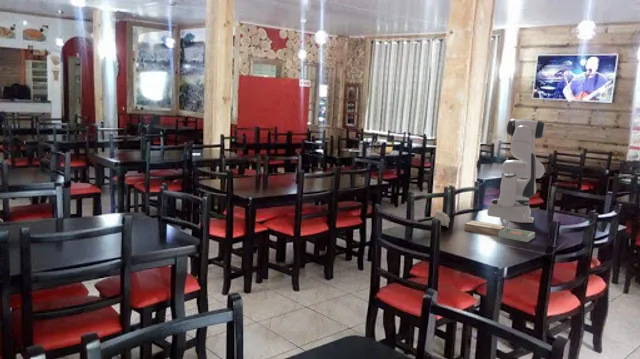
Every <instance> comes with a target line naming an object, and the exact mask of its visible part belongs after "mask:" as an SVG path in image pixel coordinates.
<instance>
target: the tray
mask: <svg viewBox="0 0 640 359" xmlns="http://www.w3.org/2000/svg"><path fill="white" fill-rule="evenodd" d="M511 231H515V232H521V233H523V236H522V235H517V234H511V233H509V232H511ZM497 237H498V238H502V239H508V240H513V241H520V242H523V243H524V242H525V243H528V242H530V241H531V240H533V239H535V237H536V232H535V231H529V230H523V229H517V228H512V227H506V228H505V229H503V230H501V231H499V232H498V236H497Z"/></svg>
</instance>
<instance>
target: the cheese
mask: <svg viewBox="0 0 640 359" xmlns="http://www.w3.org/2000/svg"><path fill="white" fill-rule="evenodd" d="M435 219H439V220H441V225H442V226H441V227H443V226H444V227H445V228H449V223H450V222H451V221H450V220H451V219H450V217H449V215H448V214H446V213H445V212H443V211H442V210H440V209H438V210H436V211H435V213H434V220H435Z"/></svg>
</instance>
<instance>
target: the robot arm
mask: <svg viewBox="0 0 640 359" xmlns="http://www.w3.org/2000/svg"><path fill="white" fill-rule="evenodd" d="M505 130H506V133H507V134H508V136H510V137H511V142H510V147H509V148H510V150H509V151H510V153H511V156H513V157H514V158H515V159H508V160H505V161H503V163H502V165H501V173H502V177H501V181H500V185H499V186H500V187H499V188H500V189H499V190H500V193H499V196H498V197H499V198H493V199H491V200H490V201H489V202H490V204H489V205H488V207H487V213H486V214H487V216H488V217H495V218H498V219H499V220H500V222H501V225H502V226H506V228H508V226H509V223H510V222H516V223H530V224H531V223H532V224H533V222H534V219H535V218H534V217H533V216H532V213H531V212H532V210H531V208H530V202H531V200H530V198H532V197H535V195H536V192H537V183H536V182H537V181H536V180H537V179H541V178H542V177H543V176H544V174H545V171H546V169H545V166H544V164H543V163H542V162H541V161H539V160H538V158H537V156H536V152H535V149H536V139H541V138H543V136H544V135H545V133H546V125H545V123H544V121H540V120H535V119H522V118H521V119H520V118H519V119H516V118H511V119H509V120H508V122H507V123H506V127H505ZM504 220H506V222H504Z"/></svg>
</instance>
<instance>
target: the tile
mask: <svg viewBox="0 0 640 359" xmlns="http://www.w3.org/2000/svg"><path fill="white" fill-rule="evenodd" d="M509 233H511V234H517V235H522V236H523V233H521V232H515V231H511V232H509Z"/></svg>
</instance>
